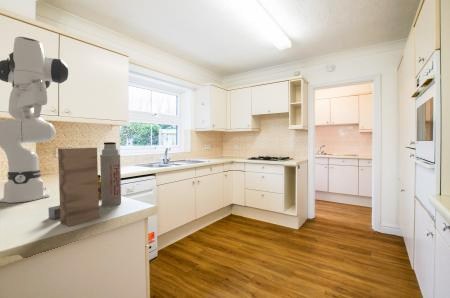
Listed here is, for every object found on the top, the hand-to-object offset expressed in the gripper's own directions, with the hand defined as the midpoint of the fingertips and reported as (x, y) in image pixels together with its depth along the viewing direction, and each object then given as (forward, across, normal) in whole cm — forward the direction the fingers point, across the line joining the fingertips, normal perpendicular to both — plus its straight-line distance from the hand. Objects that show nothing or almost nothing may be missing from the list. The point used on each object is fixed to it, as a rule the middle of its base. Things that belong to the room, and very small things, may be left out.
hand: (31, 118), depth 83 cm
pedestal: (+37, -20, -7) cm, 43 cm away
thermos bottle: (+37, -10, -25) cm, 46 cm away
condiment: (+37, +5, -24) cm, 45 cm away
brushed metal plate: (+30, -8, -7) cm, 32 cm away
